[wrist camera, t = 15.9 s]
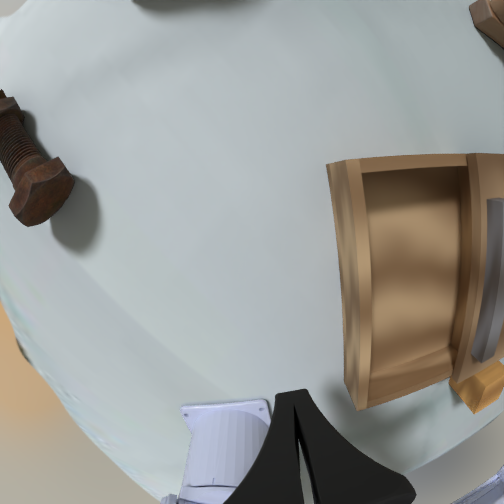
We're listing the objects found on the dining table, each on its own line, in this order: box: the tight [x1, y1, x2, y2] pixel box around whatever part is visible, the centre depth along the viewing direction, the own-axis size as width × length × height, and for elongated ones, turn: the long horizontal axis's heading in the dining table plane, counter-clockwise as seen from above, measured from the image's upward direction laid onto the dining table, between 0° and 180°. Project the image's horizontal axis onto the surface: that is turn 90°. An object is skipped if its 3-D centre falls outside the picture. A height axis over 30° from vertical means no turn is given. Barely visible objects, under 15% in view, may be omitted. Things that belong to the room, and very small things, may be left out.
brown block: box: [449, 361, 504, 414], centre depth 19 cm, size 4×4×6 cm
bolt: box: [0, 89, 74, 227], centre depth 15 cm, size 6×5×15 cm
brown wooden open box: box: [326, 154, 472, 411], centre depth 18 cm, size 18×12×4 cm, turn 10°
